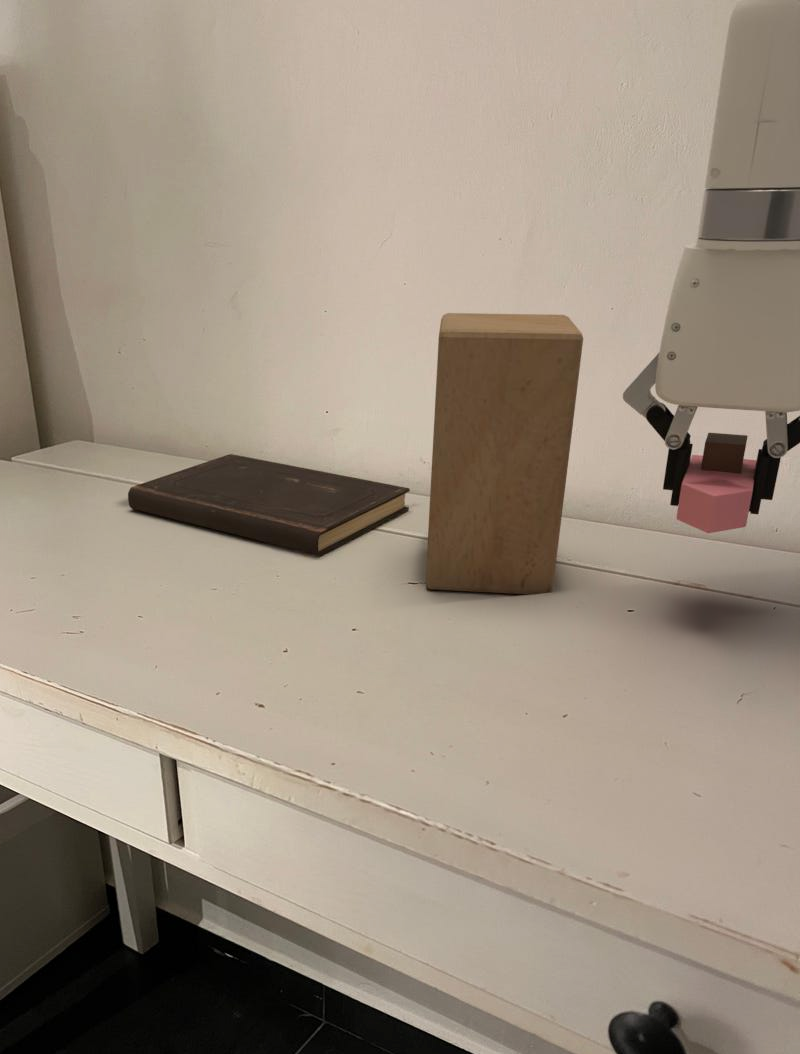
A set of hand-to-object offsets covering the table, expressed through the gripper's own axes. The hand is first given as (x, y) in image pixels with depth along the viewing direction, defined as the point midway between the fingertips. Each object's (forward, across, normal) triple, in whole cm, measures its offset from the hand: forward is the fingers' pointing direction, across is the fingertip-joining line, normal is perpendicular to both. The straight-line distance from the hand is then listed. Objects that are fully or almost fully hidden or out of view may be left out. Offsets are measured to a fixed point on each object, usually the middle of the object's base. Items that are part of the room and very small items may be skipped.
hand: (715, 501), depth 65 cm
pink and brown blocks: (0, 0, +1) cm, 1 cm away
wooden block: (+9, +17, -2) cm, 19 cm away
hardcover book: (+8, +41, -9) cm, 43 cm away
